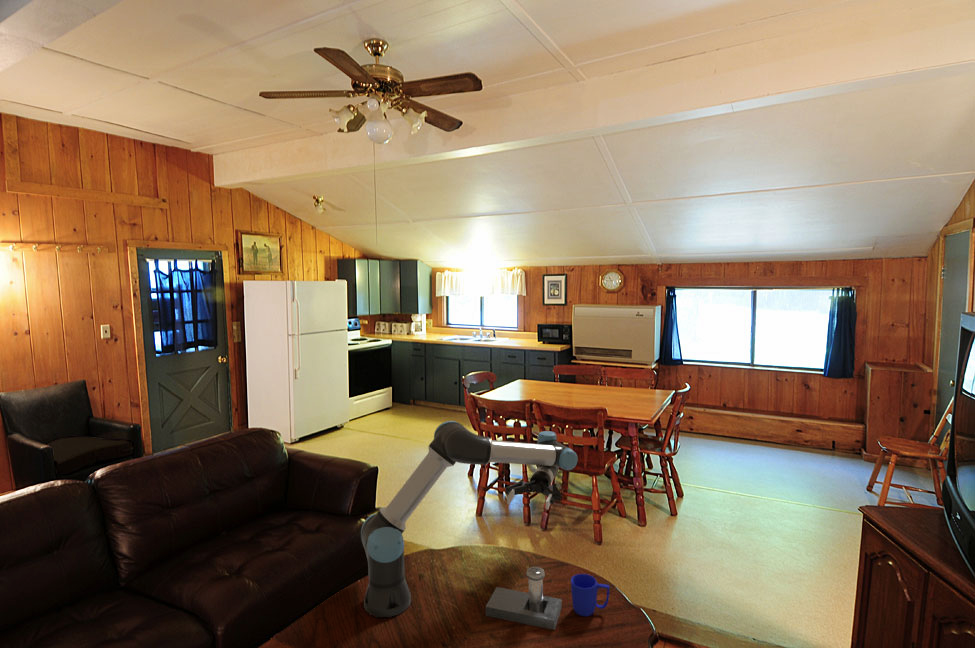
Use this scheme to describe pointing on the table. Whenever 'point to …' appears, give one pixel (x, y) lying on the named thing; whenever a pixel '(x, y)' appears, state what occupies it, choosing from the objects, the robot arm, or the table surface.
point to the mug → (586, 594)
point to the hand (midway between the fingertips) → (527, 503)
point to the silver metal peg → (535, 588)
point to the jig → (522, 608)
